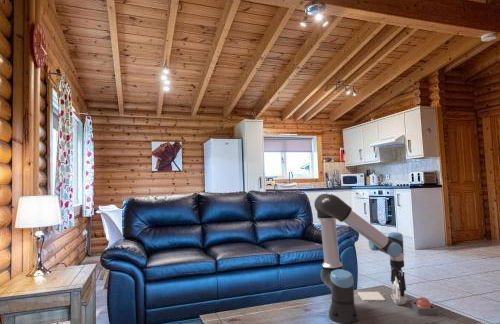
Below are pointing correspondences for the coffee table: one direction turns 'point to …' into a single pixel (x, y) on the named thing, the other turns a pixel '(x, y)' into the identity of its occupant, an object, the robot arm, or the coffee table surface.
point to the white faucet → (397, 293)
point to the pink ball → (423, 303)
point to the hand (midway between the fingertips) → (398, 298)
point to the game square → (371, 296)
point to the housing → (424, 309)
